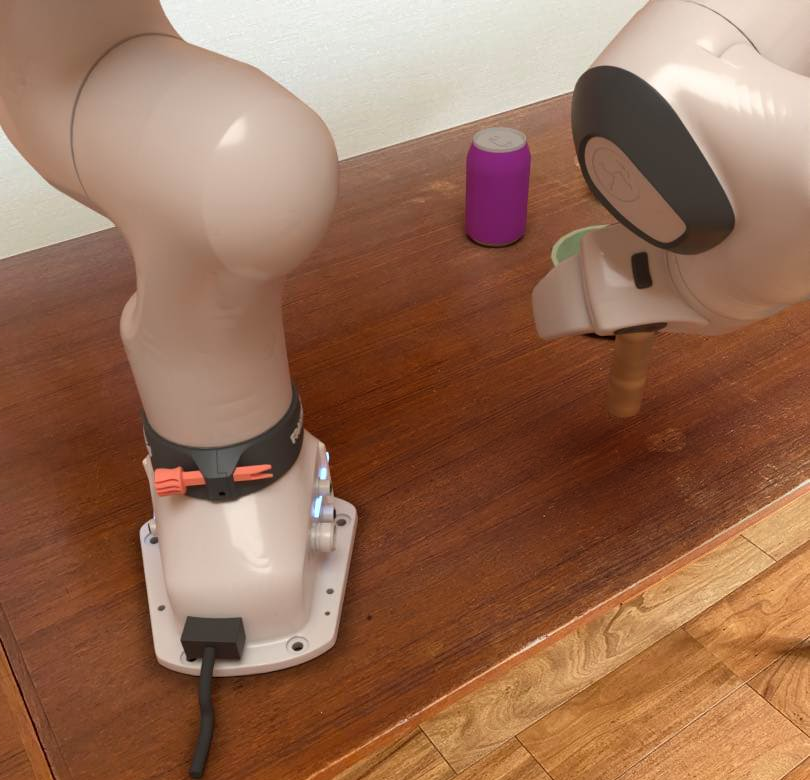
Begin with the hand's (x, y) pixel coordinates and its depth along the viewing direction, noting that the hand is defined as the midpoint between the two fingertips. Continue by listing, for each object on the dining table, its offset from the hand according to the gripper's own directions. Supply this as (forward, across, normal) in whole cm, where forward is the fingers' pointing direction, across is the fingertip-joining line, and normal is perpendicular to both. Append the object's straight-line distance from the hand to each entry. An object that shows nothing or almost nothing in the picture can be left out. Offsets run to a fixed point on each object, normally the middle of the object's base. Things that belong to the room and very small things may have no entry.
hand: (635, 312), depth 69 cm
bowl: (+28, -10, -6) cm, 31 cm away
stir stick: (+6, 0, +7) cm, 9 cm away
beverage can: (+42, -2, -19) cm, 46 cm away
